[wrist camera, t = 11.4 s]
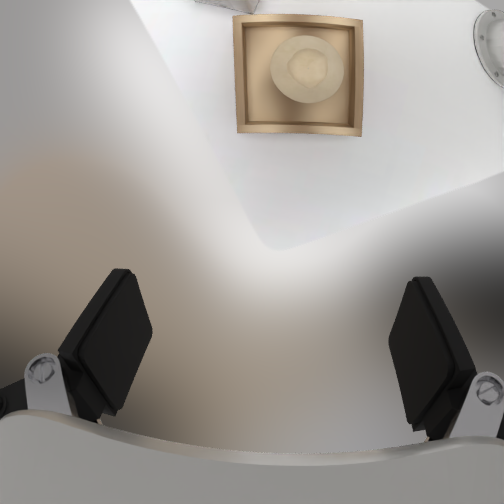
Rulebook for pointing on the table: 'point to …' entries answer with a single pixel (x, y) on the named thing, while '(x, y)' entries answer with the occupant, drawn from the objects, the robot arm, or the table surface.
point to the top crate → (272, 99)
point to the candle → (307, 69)
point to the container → (234, 4)
